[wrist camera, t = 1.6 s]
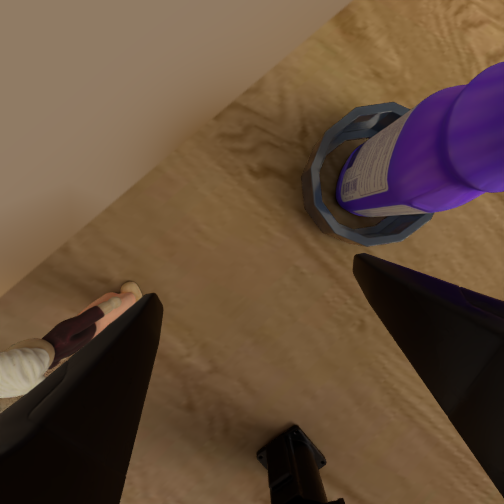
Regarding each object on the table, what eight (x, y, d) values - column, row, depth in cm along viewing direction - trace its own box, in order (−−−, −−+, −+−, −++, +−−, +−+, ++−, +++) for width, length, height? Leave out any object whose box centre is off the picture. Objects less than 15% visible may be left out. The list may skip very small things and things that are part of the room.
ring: (438, 194, 23) (472, 189, 19) (345, 264, 24) (362, 271, 20) (374, 97, 22) (399, 72, 18) (279, 174, 22) (284, 164, 19)
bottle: (371, 224, 23) (731, 216, 6) (323, 208, 23) (557, 148, 6) (396, 160, 22) (896, -66, 5) (347, 142, 22) (704, -163, 5)
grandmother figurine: (125, 266, 23) (-20, 313, 11) (155, 285, 24) (48, 352, 11) (91, 320, 24) (-84, 425, 11) (120, 338, 24) (-19, 459, 12)
